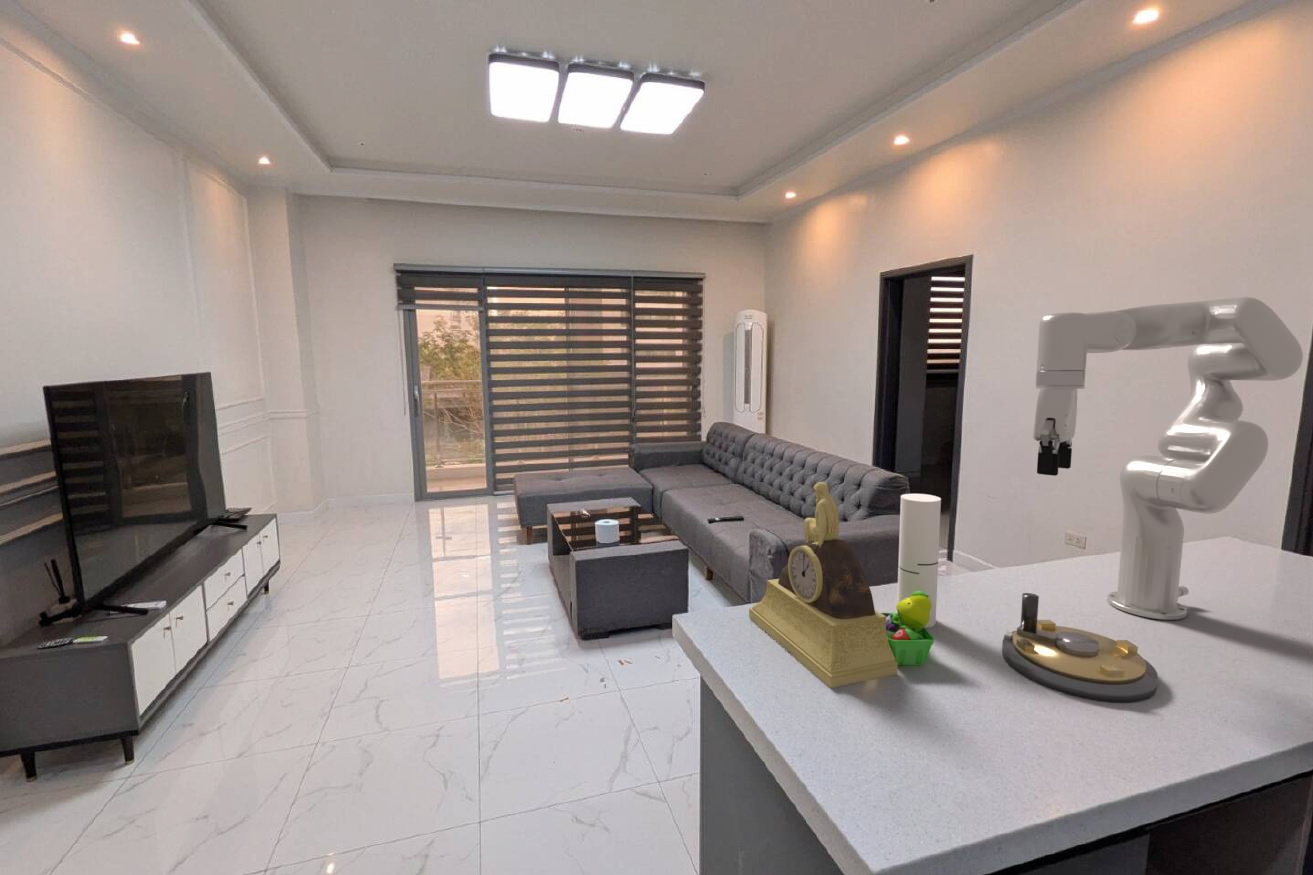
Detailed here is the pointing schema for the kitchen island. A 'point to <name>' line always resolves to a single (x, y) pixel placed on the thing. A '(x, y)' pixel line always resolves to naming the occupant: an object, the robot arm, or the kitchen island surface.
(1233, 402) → the robot arm
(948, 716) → the kitchen island surface
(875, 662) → the decorative clock
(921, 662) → the fruit basket
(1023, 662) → the cap plate
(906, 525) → the cylindrical container
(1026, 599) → the gold dial with handle
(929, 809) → the kitchen island surface
